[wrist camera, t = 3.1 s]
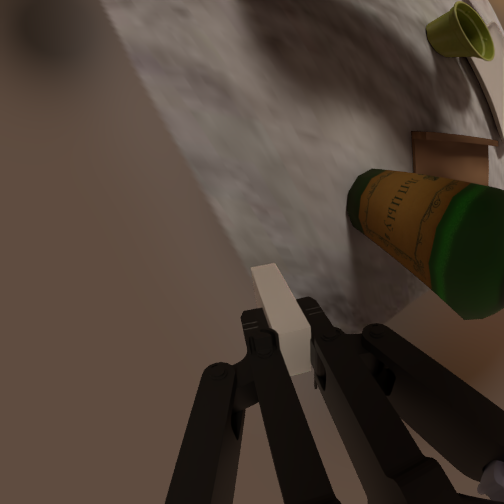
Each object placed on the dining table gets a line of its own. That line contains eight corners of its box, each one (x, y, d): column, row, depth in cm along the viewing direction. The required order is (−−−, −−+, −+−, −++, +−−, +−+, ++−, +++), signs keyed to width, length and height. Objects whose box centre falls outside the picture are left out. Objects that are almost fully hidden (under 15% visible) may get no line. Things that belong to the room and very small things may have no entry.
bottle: (378, 142, 29) (607, 192, 3) (415, 205, 33) (588, 296, 7) (320, 198, 31) (551, 350, 5) (365, 257, 34) (525, 405, 9)
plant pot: (407, 24, 23) (446, 9, 15) (431, 8, 21) (466, -5, 13) (443, 75, 26) (485, 71, 18) (463, 53, 25) (500, 48, 17)
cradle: (411, 131, 29) (425, 131, 26) (485, 139, 31) (498, 140, 28) (410, 256, 36) (422, 264, 33) (481, 235, 37) (492, 240, 35)
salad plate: (449, 43, 24) (463, 39, 21) (484, 22, 22) (495, 20, 18) (495, 149, 32) (508, 151, 29) (522, 107, 29) (533, 108, 26)
